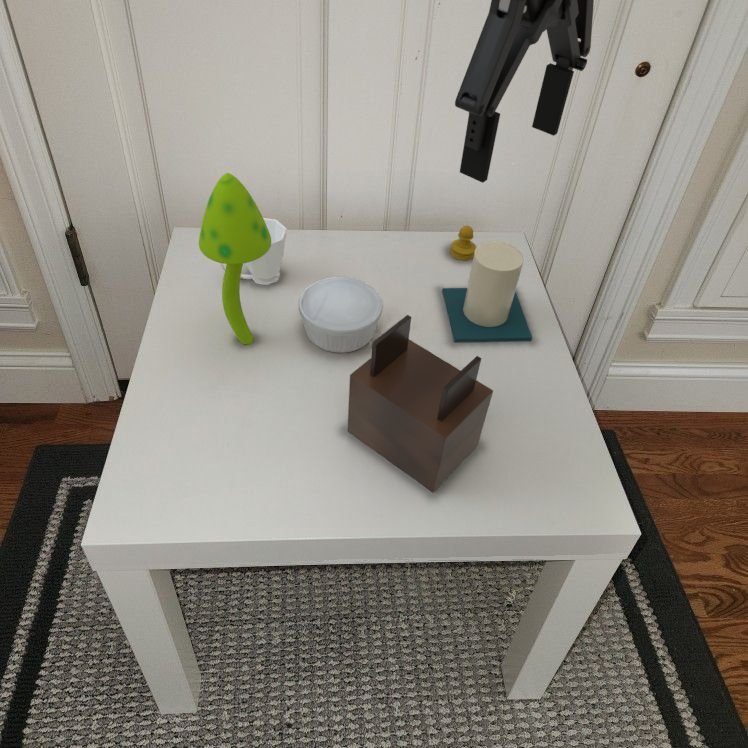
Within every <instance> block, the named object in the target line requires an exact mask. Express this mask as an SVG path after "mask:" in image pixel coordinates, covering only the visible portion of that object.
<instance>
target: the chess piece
mask: <svg viewBox="0 0 748 748" xmlns="http://www.w3.org/2000/svg"><path fill="white" fill-rule="evenodd" d="M457 235H458V236H457V237H458V238H459V239H456V240H454V241H452V243H451V244H450V245H451V246H450V251H449V252H450V255H451V257H453V258H454V259H456V260H458V261H464V262H465V261H470V260H473V257H474V252H475V249H476V248H477V245H476V244H475V243H474V242H473V241H471V240H473V239H474V229H473V227H472V226H470V225H463V226H461V228H459V233H458V234H457Z"/></svg>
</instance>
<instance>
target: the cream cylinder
mask: <svg viewBox="0 0 748 748" xmlns="http://www.w3.org/2000/svg"><path fill="white" fill-rule="evenodd" d="M524 261H525V258H524V254H523V253H522V251H521V250H520V249H519V248H518V247H516V246H514V245H513V244H511V243H508V242H504V241H499V240H491V241H490V240H489V241H484V242H482V243H480V244H478V245H476V249H475V252H474V257H473V258H472V262H471V267H470V272H469V277H468V282H467V286H466V288H467V291H466V296H465V301H464V306H463V312H464V314H465V316H466V317H467V318H468V319H469V320H470V321H471V322H473V323H475V324H477V325H480V326H484V327H495V326H499V325H501V324H503V323H504V322H505V321H506V320H507V319H508V316H509V312H510V309H511V305H512V302H513V298H514V294H515V291H516V290H517V287H518V283H519V280H520V275H521V272H522V269H523V266H524V265H523V264H524ZM516 292H517V291H516Z"/></svg>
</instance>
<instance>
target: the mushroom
mask: <svg viewBox="0 0 748 748" xmlns="http://www.w3.org/2000/svg"><path fill="white" fill-rule="evenodd" d="M263 218H264V217H263V215H262V213H261V211H260V209H259V206H258V205H257V203H256V202H255V200H254V198H253V196H252V195H251V194H250V192H249V190H248V189H247V188H246V186H245V185H244V184H243V183H242V182H241V181H240V180H239V179H238V178H237V177H236V176H235V175H234V174H232V173H230V172H226V173H224V174H223V175H222V176H221V177H219V179H218V181H217V182H216V183H215V185H214V186H213V189H212V191H211V194H210V195H209V198H208V201H207V204H206V207H205V211H204V213H203V218H202V222H201V226H200V231H199V236H198V237H199V238H198V246H199V250H200V252H201V253H202V255H204V257H206V258H207V259H209V260H211V261H213V262H215V263H218V264H220V263H223V265H225V266H226V269H225V270H224V275H223V280H222V289H221V301H222V306H223V311H224V314H225V317H226V319H227V322H228V323H229V325H230V327H231V329H232V331H233V333H234V334H235V336H236V338H237V339H238V341H239V342H240V343H241V344H242V345H250V344H252V343H253V342H254V336H253V334H252V331H251V330H250V327H249V325H248V322H247V320H246V317H245V314H244V311H243V306H242V303H241V292H240V290H241V289H240V287H241V278H240V277H241V273H242V271H243V265H244V264H246V263H248V262H251V261H254V260H256V259H258V258H260V257H262V256H263V255H264V254H266V253H267V251H268V250H269V249H270V246H271V236H270V233H269V230H268V228H267V226H266V223H265V221H264V219H263Z"/></svg>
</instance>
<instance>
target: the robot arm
mask: <svg viewBox="0 0 748 748" xmlns="http://www.w3.org/2000/svg"><path fill="white" fill-rule="evenodd" d="M594 4H595V0H491V1H490V5H489V10H488V13H487V16H486V18H485V22H484V24H483V27H482V29H481V32H480V35H479V37H478V39H477V42H476V45H475V48H474V50H473V53H472V55H471V58H470V60H469V64H468V66H467V69H466V71H465V74H464V76H463V79H462V82H461V84H460V87H459V90H458V91H457V95H456V98H455V100H454V107H456V108H458V109H460V110H463V111H465V112H468V118H467V125H466V130H465V136H464V137H465V138H464V141H463V142H464V143H463V148H462V155H461V160H460V161H461V162H460V168H459V173H460V174H463V175H465V176H467V177H469V178H471V179H473V180H475V181H478V182H480V183H485V182H486V181H488V177H489V173H490V168H491V164H492V163H491V162H492V158H493V152H494V147H495V142H496V138H497V133H498V128H499V123H500V118H501V113H500V112H497V109H498V107H499V105H500V103H501V101H502V100H503V97H504V96H505V93H506V92H507V90H508V88H509V86H510V84H511V82H512V81H513V78H514V77H515V75H516V73H517V71H518V69H519V67H520V65H521V63H522V61H523V60H524V57H525V56H526V54H527V52H528V50H529V48H530V46H532V45H536V44H537V43H538V42H539V40H540V38H541V36H542V34H543V33H544V32H546V34H547V39H548V44H549V49H550V55H551V58H552V62H554V63H555V64H554V63H548V64H547V65H546V67H545V71H544V75H543V79H542V83H541V86H540V87H541V88H540V91H539V96H538V101H537V104H536V109H535V113H534V117H533V121H532V125H531V128H533V129H536V130H537V131H541V132H544V133H546V134H548V135H550V136H556V135H558V132H559V128H560V126H561V121H562V118H563V113H564V109H565V106H566V103H567V99H568V96H569V92H570V88H571V85H572V81H573V77H574V73H575V71H574V70H577V71H580V72H583V71H584V70H585V69H586V67H587V64H588V59H587V57H588V55H589V54H590V52H591V47H592V32H593V19H594Z"/></svg>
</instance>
